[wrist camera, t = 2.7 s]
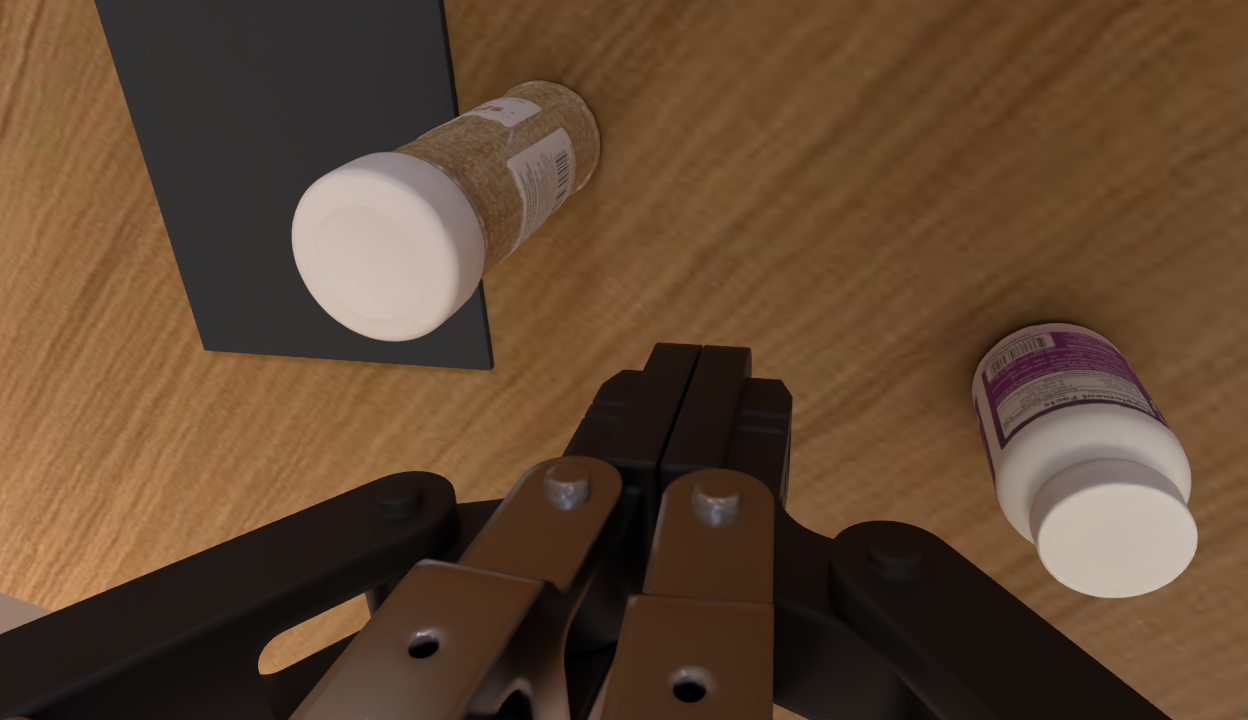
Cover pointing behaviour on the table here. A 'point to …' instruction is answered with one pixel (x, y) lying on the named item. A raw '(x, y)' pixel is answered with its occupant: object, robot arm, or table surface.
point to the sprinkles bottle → (440, 210)
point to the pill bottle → (1084, 461)
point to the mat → (279, 151)
